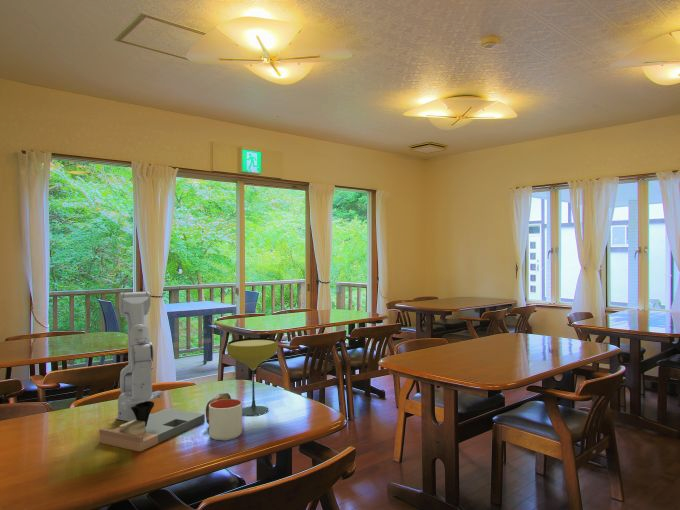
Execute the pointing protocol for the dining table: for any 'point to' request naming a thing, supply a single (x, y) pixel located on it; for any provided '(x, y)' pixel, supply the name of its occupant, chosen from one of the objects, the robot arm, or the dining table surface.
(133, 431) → the beech block
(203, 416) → the board
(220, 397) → the tin
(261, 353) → the cocktail glass
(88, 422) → the dining table surface
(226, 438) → the cup
